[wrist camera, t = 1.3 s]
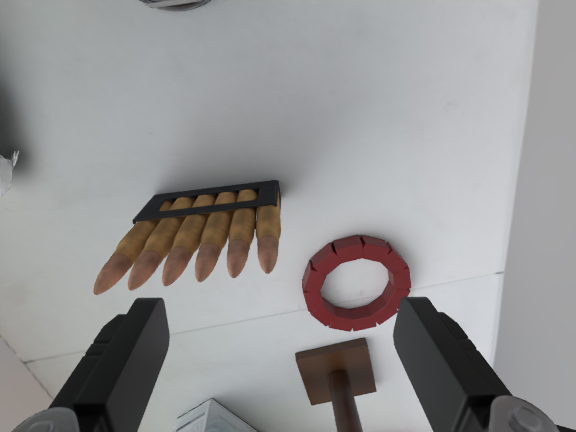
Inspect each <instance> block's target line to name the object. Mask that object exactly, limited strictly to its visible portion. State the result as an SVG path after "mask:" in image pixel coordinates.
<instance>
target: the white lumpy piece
mask: <svg viewBox="0 0 576 432" xmlns="http://www.w3.org/2000/svg"><path fill="white" fill-rule="evenodd" d="M18 153H19V150H18V152H17V154H16V156H15V151H14V155H13V159H12V161H10V160H9V159H4V157H3V156H2V155H0V196H1V195H2V194H4V193H5V192H6V191H7V190H9V189H10V186H11V183H12V170H13V167H14V166H15V164H16V161H17V159H18V158H17V156H18Z"/></svg>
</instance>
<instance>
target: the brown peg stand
mask: <svg viewBox="0 0 576 432" xmlns="http://www.w3.org/2000/svg"><path fill="white" fill-rule="evenodd" d="M295 356H296V362H297V365H298V368H299V371H300V374H301V377H302V380H303V383H304V386H305V388H306V391H307V394H308V397H309V400H310V403H311V405H316V404H321V403H326V402H330V401H332V405H333V410H334V416H335V421H336V426H337V432H363V430H362V426H361V422H360V419H359V415H358V411H357V407H356V403H355V399H354V396H358V395H363V394H368V393H372V392H376V386H375V381H374V376H373V371H372V366H371V361H370V355H369V350H368V345H367V342H366V339H365V338H361V339H357V340H353V341H348V342H344V343H339V344H335V345H330V346H326V347H321V348H317V349H312V350H308V351H303V352H299V353H295Z"/></svg>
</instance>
